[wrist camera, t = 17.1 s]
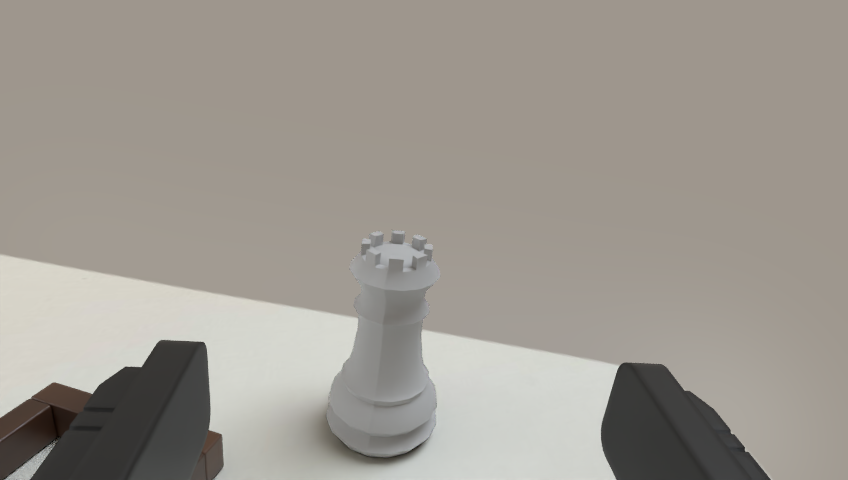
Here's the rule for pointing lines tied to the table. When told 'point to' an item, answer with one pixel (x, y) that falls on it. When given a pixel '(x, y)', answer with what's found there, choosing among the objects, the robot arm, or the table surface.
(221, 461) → the holder collar
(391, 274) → the rook chess piece
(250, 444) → the table surface
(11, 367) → the table surface
